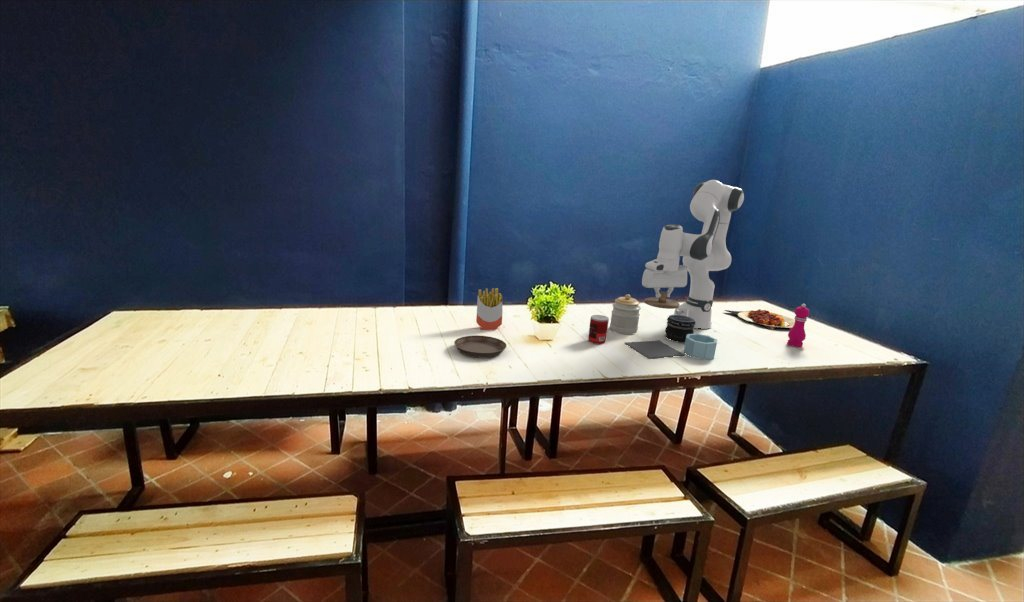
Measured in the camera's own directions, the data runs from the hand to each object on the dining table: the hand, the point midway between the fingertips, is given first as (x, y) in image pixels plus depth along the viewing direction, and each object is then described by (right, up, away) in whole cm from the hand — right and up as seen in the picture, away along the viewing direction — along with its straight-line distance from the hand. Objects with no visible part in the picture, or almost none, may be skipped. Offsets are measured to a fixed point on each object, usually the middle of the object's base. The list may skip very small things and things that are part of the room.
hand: (662, 297), depth 215 cm
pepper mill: (+69, -22, +27) cm, 78 cm away
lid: (0, -3, +1) cm, 3 cm away
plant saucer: (-75, -22, -9) cm, 79 cm away
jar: (-10, -16, +30) cm, 35 cm away
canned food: (-25, -19, +12) cm, 34 cm away
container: (+14, -19, +23) cm, 33 cm away
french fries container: (-73, -14, +18) cm, 76 cm away
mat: (-2, -22, +6) cm, 23 cm away
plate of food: (+73, -13, +63) cm, 97 cm away
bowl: (+17, -24, +5) cm, 30 cm away
